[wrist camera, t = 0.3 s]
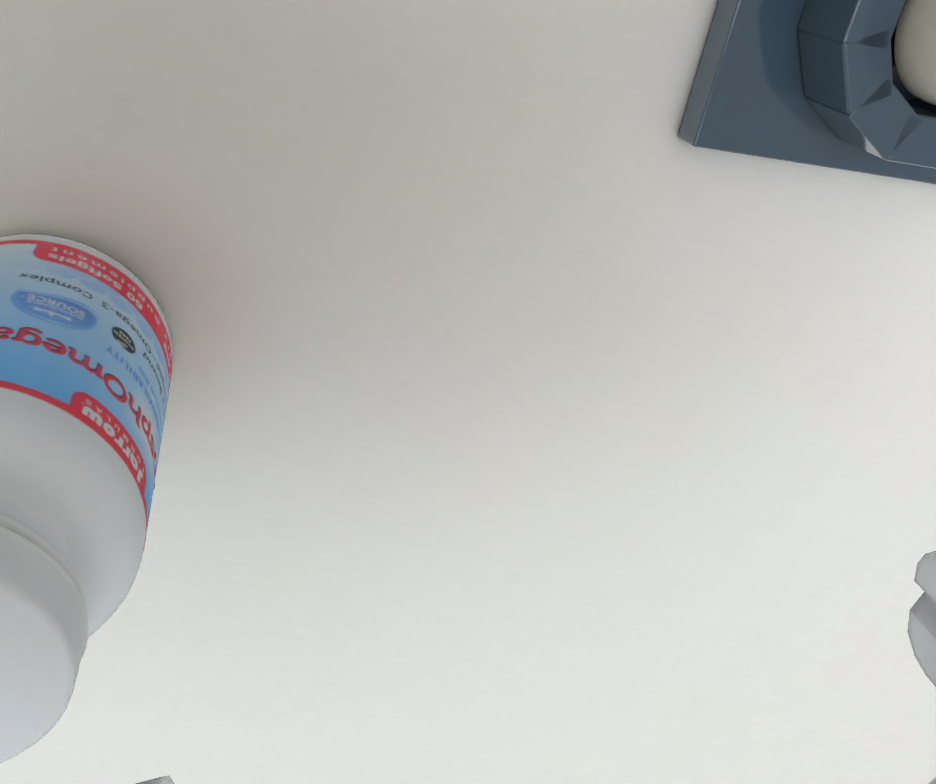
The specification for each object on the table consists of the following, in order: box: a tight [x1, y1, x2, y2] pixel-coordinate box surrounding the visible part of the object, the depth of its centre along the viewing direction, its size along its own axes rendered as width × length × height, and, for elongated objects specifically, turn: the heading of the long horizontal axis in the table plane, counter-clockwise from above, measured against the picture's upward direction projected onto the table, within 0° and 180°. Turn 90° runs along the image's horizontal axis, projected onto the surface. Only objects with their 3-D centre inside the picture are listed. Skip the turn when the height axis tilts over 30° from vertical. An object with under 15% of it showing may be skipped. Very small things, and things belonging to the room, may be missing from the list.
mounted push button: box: [678, 0, 936, 184], centre depth 22 cm, size 10×8×3 cm
